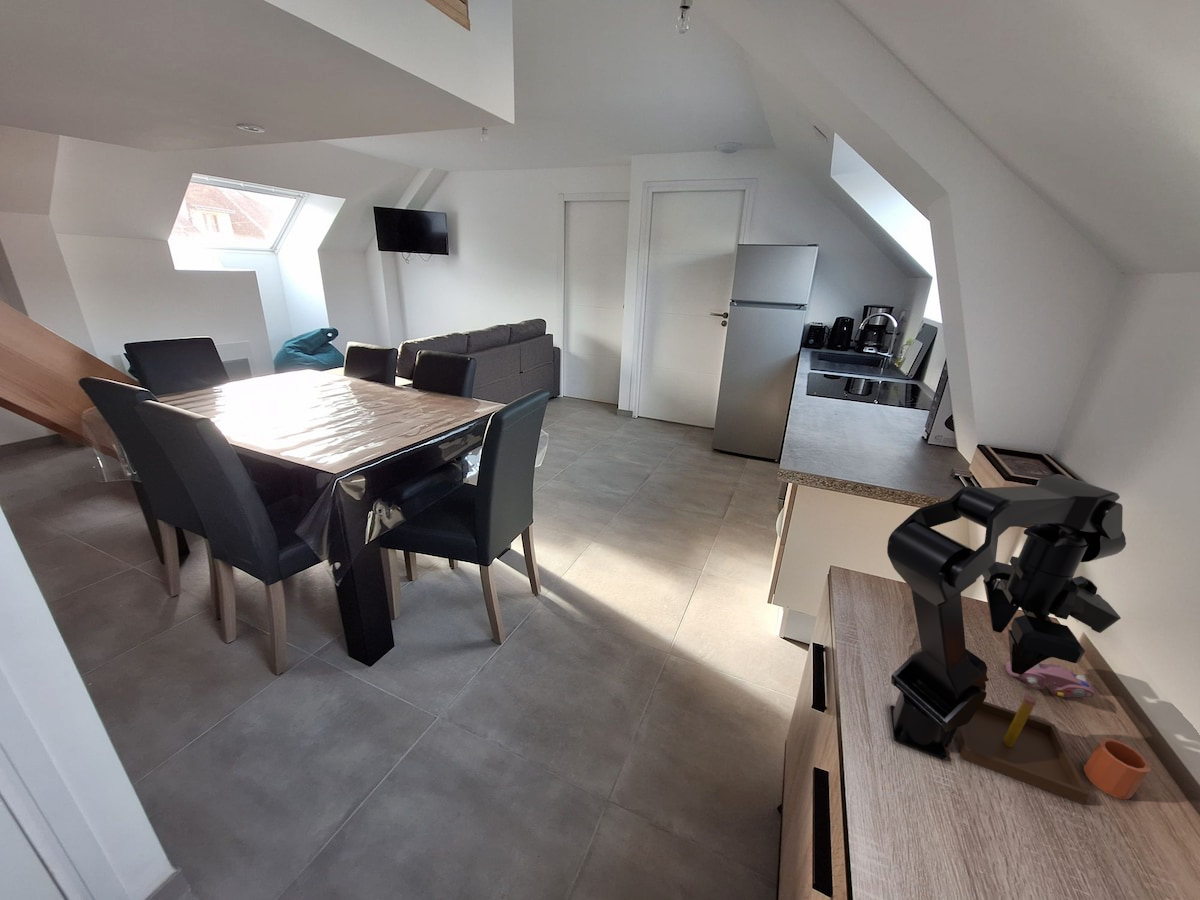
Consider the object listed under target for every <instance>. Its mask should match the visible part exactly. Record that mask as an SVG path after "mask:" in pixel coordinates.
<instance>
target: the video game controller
mask: <svg viewBox="0 0 1200 900" xmlns="http://www.w3.org/2000/svg"><path fill="white" fill-rule="evenodd" d="M1005 670H1006V672H1007V673H1008V674H1009V675H1010V676H1012V677H1014V678H1017V679H1020V680H1022V681H1024V682H1025V683H1026V686H1027V687H1029V688H1031V689H1036V690H1044V689H1045V688H1046V684H1045V683H1048V684H1049V689H1050V693H1051V694H1053V695H1055V696H1058V697H1061V698H1067V697H1068V698H1069V697H1075V698H1082V699H1083V698H1084V699H1088V698H1089V699H1090V698H1093V697H1094V696H1095V691H1094V687H1093V685H1092V684H1091V683H1090V681H1089V680H1088V679H1087V678H1086V676H1085V675H1082V674H1077V673H1074V672H1073V671H1071V670H1068V669H1067V668H1065V667H1063V666H1060V665H1058V664H1052V663H1041V662H1040V663H1039V664H1037V665H1035V666H1034V667H1032V668H1031V669H1029V670H1028V671H1026V672H1025V673H1023V674H1022V675H1020V674H1016V673H1013V672H1012V670H1011V663H1010V660H1008V661H1007V662H1006V664H1005Z"/></svg>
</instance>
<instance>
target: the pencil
mask: <svg viewBox="0 0 1200 900" xmlns="http://www.w3.org/2000/svg"><path fill="white" fill-rule="evenodd" d="M1036 704H1037V700H1036V699H1035V697H1033V696H1032V695H1029V694H1028V695H1027V694H1026V695H1024V697H1023V699H1022V701H1021V702H1020V705H1019V707H1018V709H1017V711H1016V712H1017V713H1016V715H1015V717H1014V719H1013V721H1012V723H1011V725H1010V727H1009V729H1008V731H1007V733H1006V735H1005V737H1004V739H1003V743H1004V744H1005V745H1006V746H1008V747H1013V746H1014V744H1015V742H1016V740H1017V738H1018V736H1019V734H1020V732H1021V730H1022V728H1023V726H1024V725H1025V723H1026V721H1027V719H1028V717H1029V716H1030V715H1031V714H1032V711H1033V709H1034V708H1035V706H1036Z"/></svg>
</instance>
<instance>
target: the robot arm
mask: <svg viewBox="0 0 1200 900" xmlns="http://www.w3.org/2000/svg"><path fill="white" fill-rule="evenodd" d="M1119 499H1120V494H1119V493H1118V492H1115V491H1112V490H1109V489H1106V488H1102V487H1100V486H1096V485H1094V484H1090V483H1087V482H1084V481H1082V480H1078V479H1075V478H1072V477H1069V476H1066V475H1063V474H1060V473H1057V474H1056V473H1055V474H1052V475H1051V474H1050V475H1048V476H1044V477H1040V478H1039V479H1038V481H1037V483H1036V485H1028V486H1023V485H1022V486H999V487H998V486H997V487H996V486H995V487H980V486H976V485H974V486H971V485H966V486H963V487H962V488H960V489H959V490H958V491H957V492H956V493H955V494H953V495H952V496H951V497H950V498H948V499H945V500H943V501H939V502H936V503H932V504H930V505H929V504H928V505H926V506H922V507H920V508H918V509H916V510H915V511H914V512H913V513H912V514H910V515H909V516H908V517H907V518H906V519H905V520H903V522H901V523H900V524H899V525H898V526H897V527H896V528H895V529H893V531H892V532H891V533H890V535H889V537H888V539H887V546H886V552H887V557H888V559H889V561H890V563H891V566H892V568H893V569H894V570H895V572H896V573H897V574H898V575H899V576H900V577H901V578H902V580H904V582H905V583H906V584H907V585H908V586H909V588H910V590H911V595H912V601H913V602H912V603H913V607H914V613H915V619H916V625H917V631H918V637H919V643H920V648H918V649H917V650H914V652H913V653H912V654H911V655H910V656H909V657H908V659H907V660H905V661H904V662H903V663H902V664H901V665H900V666H899V668H897V669H896V670H895V671H894V672H893V673H892V674H891V676H890V677H891V678H890V681H891V685H892V686H893V687H896V689H898V690H899V694H898V697H897V699H896V701H895V704H894V705H893V704H892V705H890V706H889V716H890V724H891V730H892V738H893V740H894V742H896V743H898V744H902V745H904V746H907V747H909V748H912V749H915V750H917V751H919V752H922V753H923V754H924V753H925V754H926V755H927V754H928V755H930V756H932V757H935V758H937V759H940V760H944V761H945V760H946V759H947V752H946V748H949V747H950V746H951V743H952V741H953V738H954V737H955V732H956V730H957V728H958V727H960V726H963V725H965V724H967V723H969V721H970V720H971V718H972V717H973V716H974V714H975V713H976V711H977V710H978V709H979V707H980V706H981V704H982V703H983V702H984V701H985V700H986V698H987V692H986V690H987V689H986V688H987V684H986V682H988V681H990V678H988V676H987V675H988V666H987V664H986V662H985V661H984V660H983V659H981V658H980V657H978V656H977V655H975V654H974V653H973V652H972V651H970V650H969V649H967V645H966V635H965V626H964V625H965V623H964V614H963V613H964V611H963V602H962V592H963V591H965V590H966V589H968V588H969V587H970V586H972V585H973V584H975V583H976V582H977V580H978V579H979V578H980V577H981V576H982V578H983V580H982V583H983V585H984V590H985V591H984V592H985V596H986V601H987V605H988V606H987V607H988V611H989V619H990V624H991V629H992V631H993V632H995V633H998V634H1001V633H1003V632H1004V630H1005V629H1006V628H1007V627H1008V626H1009V624H1010V622H1011V621H1012V622H1011V629H1008V633H1007V635H1008V646H1009V661H1010V663H1011V670H1012V672H1013V673H1016V674H1020V675H1022V674H1023V673H1025V672H1026V671H1028V670H1029V669H1031V668H1032V667H1034V666H1035V665H1037V664H1039V663H1041V662H1044V661H1045V660H1048V659H1050V658H1054V659H1058V660H1061V661H1065V662H1069V663H1071V664H1078V663H1080V662H1081V660H1082V658H1083V656H1084V654H1085V652H1086V650H1085V648H1084V647H1083V645H1082V644H1081V642H1080V641H1079V639H1078V638H1077V636H1076V635H1075V634H1074V633H1073V631H1072V630H1071V629H1070V627H1069V626H1068V625H1065V624H1061V623H1058V622H1053V620H1052V618H1051V617H1050V615H1052V616H1053V615H1054V617H1055V618H1058V619H1063V620H1068V618H1069V616H1070V617H1071V618H1073V619H1075V620H1077V621H1079V622H1081V623H1082V624H1084V625H1086V626H1087V627H1089V628H1090V629H1091V630H1092V631H1094V632H1096V633H1098V634H1101V633H1103V632H1104V631H1106V630H1107V629H1108V628H1109V627H1111V626H1113V625H1114V624H1115V623H1117V622H1118V621H1119V620H1121V619H1122V617H1121V616H1120V615H1119V613H1118V612H1117V611H1116V610H1115V609H1114V607H1112V606H1111V604H1110V602H1108V601H1107V600H1106V599H1104V598H1103V597H1102V596H1101V595H1100V594H1099V593H1097V591H1098V587H1097V586H1096V584H1095V583H1094V582H1093V581H1092V580H1091V579H1089V578H1086V577H1085V576H1083V575H1079V576H1075V574H1076V572H1077V570H1078V567H1079V565H1080V563H1089V562H1092V561H1097V560H1100V559H1104V558H1108V557H1111V556H1114V555H1118V554H1119V553H1121V552H1122V551H1123V550H1124V549H1125V548H1126V545H1127V542H1126V536H1125V533H1124V530H1123V516H1124V515H1123V513H1124V511H1123V508H1124V507H1123V504H1121V503H1120V502H1117V501H1118V500H1119ZM961 518H964V519H966V520H968V521H970V522H973V523H974V524H976V525H978V526H981V527H983V528H985V535H984V542H983V543H982V544H981V545H980V546H979V547H978V548H977V549H976V550H974V549H973V548H970V547H969V546H967V545H965V544H963V543H962V542H959V541H957V540H955V539H953V538H951V537H949V536H948V535H946V534H943V533H942V532H940V531H938V530H936V529H934V528H933V527H936V526H940V525H944V524H947V523H951V522H954V521H957V520H959V519H961ZM1017 527H1026V528H1025V529H1024V530H1023V534H1024V535H1026V538H1025V541H1024V542H1023V546H1022V547H1021V551H1020V553H1019V555H1018V556H1013V555H1011V557H1010V559H1009V564H1008V563H1004V562H999V561H997V553H998V545H999V544H998V543H999V537H1000V536H1001V535H1002V534H1003V533H1004V532H1005V531H1007V530H1008V529H1009V528H1017ZM1074 576H1075V577H1074ZM1019 609H1021V611H1022V612H1023V615H1020V616H1015V615H1016V613H1017V612H1018V610H1019ZM1014 616H1015V617H1014Z"/></svg>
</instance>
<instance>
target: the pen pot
mask: <svg viewBox="0 0 1200 900" xmlns="http://www.w3.org/2000/svg"><path fill="white" fill-rule="evenodd" d="M1151 767H1152V766H1151V765H1150V762H1149V761H1148V759H1147V758H1146V757H1145V756H1144V755H1143V754H1141V753H1140V752H1139V751H1138V750H1136V748H1134V747H1132V746H1130V745H1128V744H1127V743H1124V742H1123V741H1120V740H1117V739H1114V738H1111V737H1102V738H1101V739H1100V740H1099V742H1097V745H1096V746H1095V748H1094V750H1093V751H1092V753H1091V755H1090V756H1089V758H1088V759H1087V761H1086V763H1085V764H1084V766H1083V773H1084V775H1085V777H1086V778H1087V779H1088V780H1089V781H1090V782H1091V783H1092V784H1093V785H1094V786H1095V787H1096V788H1098V789H1099V790H1100V791H1102V792H1104V793H1105V794H1107V795H1109V796H1111V797H1113V798H1115V799H1119V800H1130V799H1131V798H1132V797H1133V796H1134V794H1135V793H1136V791H1138V789H1139V787H1140V786H1141V784H1142V783H1143V781H1144V780H1145V779H1146V778H1147V776H1148V774H1149V773H1150V771H1151Z"/></svg>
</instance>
